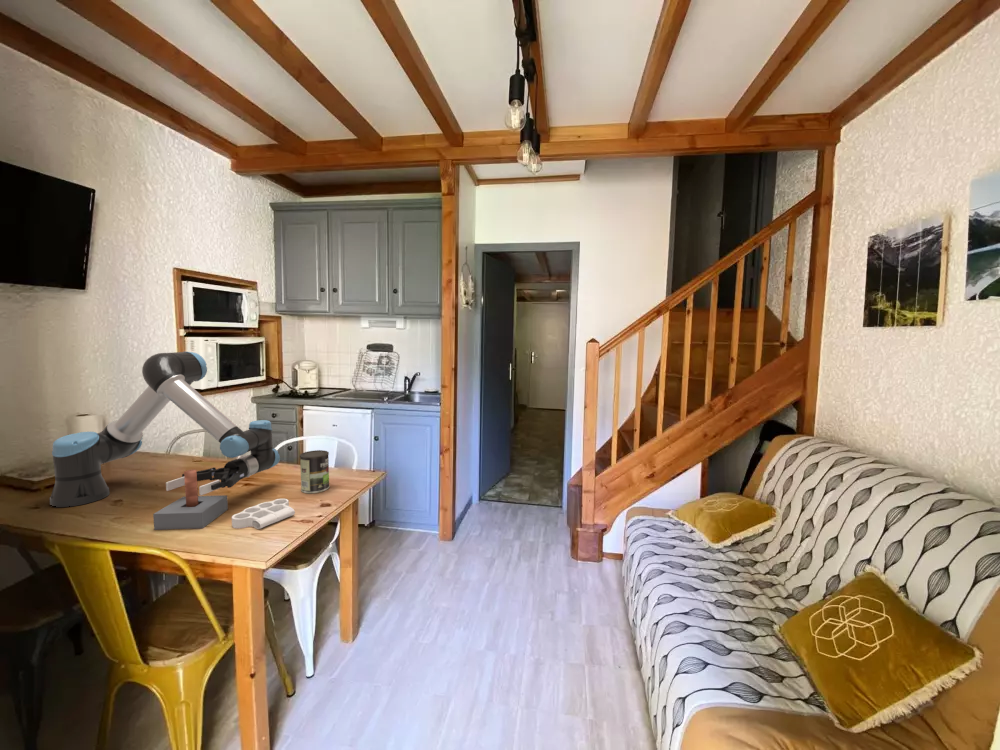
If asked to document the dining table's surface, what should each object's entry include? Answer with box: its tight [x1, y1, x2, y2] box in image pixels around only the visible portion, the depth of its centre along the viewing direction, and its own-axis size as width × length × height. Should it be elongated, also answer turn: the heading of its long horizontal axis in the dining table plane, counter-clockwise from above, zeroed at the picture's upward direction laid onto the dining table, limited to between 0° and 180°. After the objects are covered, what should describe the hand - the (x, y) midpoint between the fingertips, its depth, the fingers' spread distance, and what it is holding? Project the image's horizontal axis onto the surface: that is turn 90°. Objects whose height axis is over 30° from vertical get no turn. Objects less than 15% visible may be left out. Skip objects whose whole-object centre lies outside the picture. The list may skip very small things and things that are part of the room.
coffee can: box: [299, 449, 330, 494], centre depth 162 cm, size 10×10×14 cm
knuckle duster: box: [231, 498, 296, 530], centre depth 136 cm, size 3×18×15 cm
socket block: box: [152, 494, 229, 531], centre depth 134 cm, size 14×14×5 cm
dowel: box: [183, 469, 199, 507], centre depth 134 cm, size 3×3×16 cm
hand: (183, 488), depth 131 cm, fingers open, 13 cm apart
